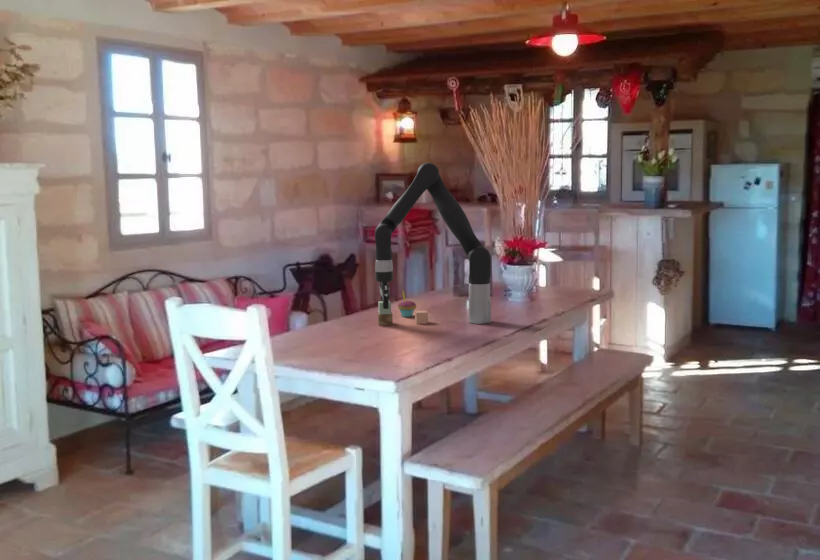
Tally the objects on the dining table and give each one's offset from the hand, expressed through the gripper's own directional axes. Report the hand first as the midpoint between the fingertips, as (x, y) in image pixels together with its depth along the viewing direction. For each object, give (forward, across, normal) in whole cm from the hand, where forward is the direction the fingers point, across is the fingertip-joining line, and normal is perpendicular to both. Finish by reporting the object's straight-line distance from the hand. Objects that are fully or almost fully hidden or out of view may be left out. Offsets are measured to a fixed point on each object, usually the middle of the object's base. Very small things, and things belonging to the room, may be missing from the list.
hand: (384, 307), depth 374 cm
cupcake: (+8, +18, -12) cm, 23 cm away
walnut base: (+8, 0, 0) cm, 8 cm away
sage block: (+3, 0, 0) cm, 3 cm away
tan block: (+8, 0, -16) cm, 18 cm away
